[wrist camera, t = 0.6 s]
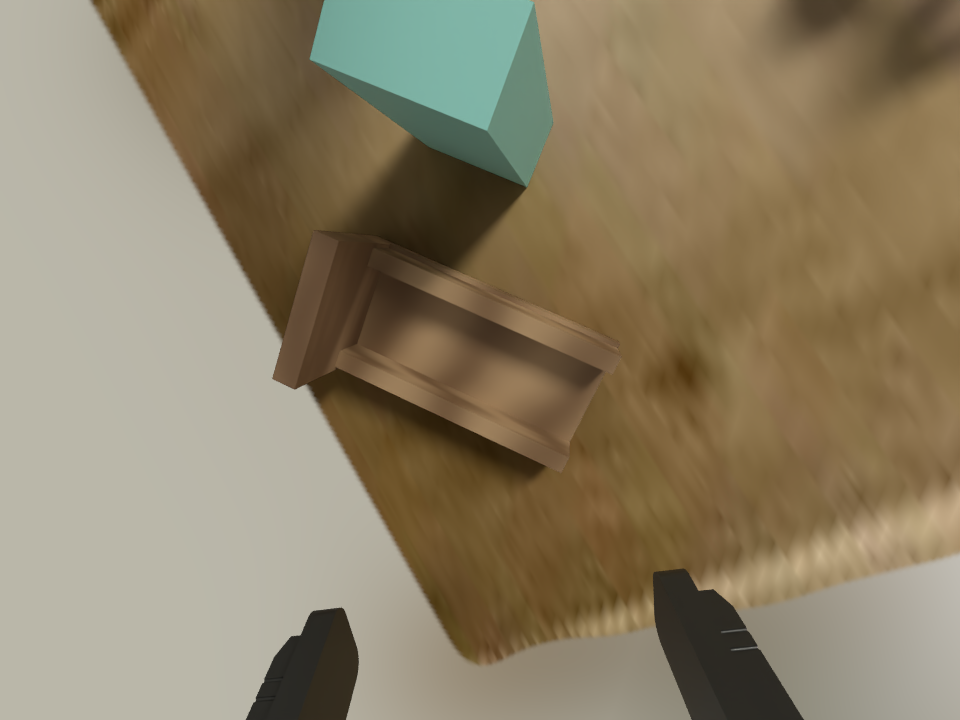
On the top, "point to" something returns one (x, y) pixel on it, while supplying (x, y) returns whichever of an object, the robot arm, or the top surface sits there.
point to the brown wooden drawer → (443, 344)
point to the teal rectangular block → (446, 74)
